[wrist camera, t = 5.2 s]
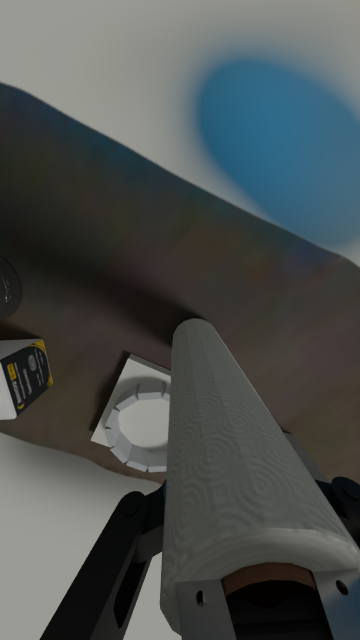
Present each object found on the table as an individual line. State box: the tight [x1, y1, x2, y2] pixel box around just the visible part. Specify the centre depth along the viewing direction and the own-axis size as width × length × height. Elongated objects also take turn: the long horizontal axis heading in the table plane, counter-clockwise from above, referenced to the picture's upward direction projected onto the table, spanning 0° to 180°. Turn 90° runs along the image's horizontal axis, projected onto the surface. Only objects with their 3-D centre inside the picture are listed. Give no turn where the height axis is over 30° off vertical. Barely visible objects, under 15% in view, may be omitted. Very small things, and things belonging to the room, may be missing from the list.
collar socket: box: [91, 354, 171, 472], centre depth 28 cm, size 15×15×4 cm
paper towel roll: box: [160, 318, 360, 635], centre depth 16 cm, size 7×6×21 cm
